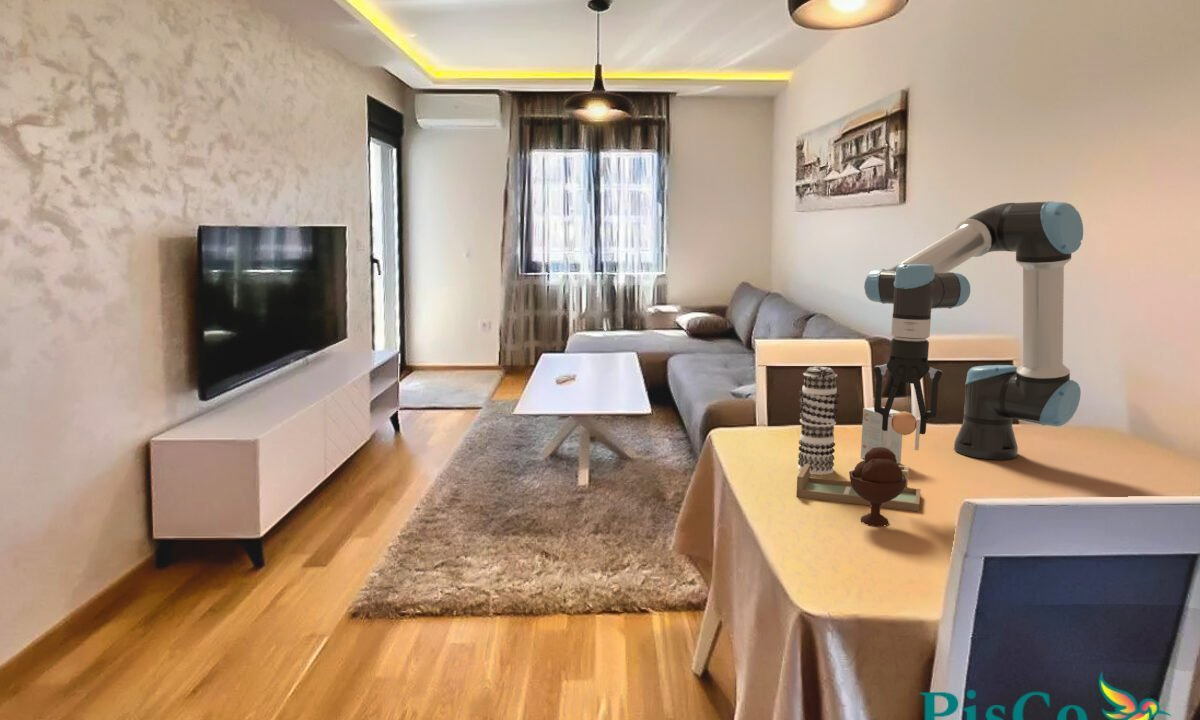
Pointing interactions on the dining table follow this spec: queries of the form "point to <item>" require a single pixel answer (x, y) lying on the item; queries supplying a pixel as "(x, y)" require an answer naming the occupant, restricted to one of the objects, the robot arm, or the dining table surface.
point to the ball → (904, 423)
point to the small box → (878, 434)
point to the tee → (905, 473)
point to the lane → (849, 492)
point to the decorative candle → (818, 420)
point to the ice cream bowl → (877, 482)
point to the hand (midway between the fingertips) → (902, 447)
